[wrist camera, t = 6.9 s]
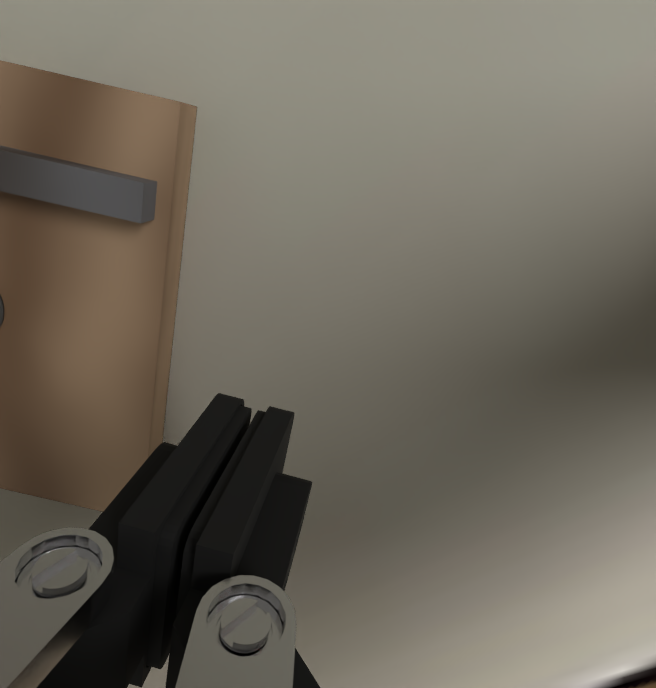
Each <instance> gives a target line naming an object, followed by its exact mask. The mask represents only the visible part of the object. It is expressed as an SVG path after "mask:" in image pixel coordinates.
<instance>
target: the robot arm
mask: <svg viewBox="0 0 656 688" xmlns="http://www.w3.org/2000/svg"><path fill="white" fill-rule="evenodd" d="M250 419H251V408H248V407H244V400H243V399H240V398H236V397H232V396H228V395H224V394H220V393H218V394H217V395H216V396H215V398H214V399H213V400H212V402H211V403H210V404H209V406H208V407H207V408H206V409H205V411H204V412H203V413H202V415H201V416H200V417H199V419H198V420H197V421H196V422H195V424H194V425H193V426H192V428H191V429H190V430H189V432H188V433H187V434H186V436H185V437H184V438H183V439H182V441H181V442H180V443H179V445H178V446H176V445H172V444H169V443H165V442H164V443H161V444H160V445H159V446H158V447H157V448H156V449H155V450H154V451H153V453H152V454H151V455H150V456H149V457H148V459H147V460H146V461H145V462H144V463H143V465H142V466H141V467H140V468H139V469H138V471H137V472H136V473H135V474H134V475H133V477H132V478H131V479H130V480H129V481H128V483H127V484H126V485H125V486H124V487H123V489H122V490H121V491H120V492H119V493H118V495H117V496H116V497H115V498H114V499H113V501H112V502H111V503H110V504H109V505H108V507H107V508H106V509H105V510H104V511H103V513H102V514H101V515H100V516H99V517H98V519H97V520H96V521H95V522H94V523H93V525H92V526H91V527H90V528H89V529H85V528H70V527H66V528H61V529H56V530H50V531H48V532H45V533H43V534H40V535H38V536H35V537H33V538H32V539H30V540H29V541H27V542H26V543H24V544H22V545H21V546H20V547H18V548H17V549H16V550H15V551H13V552H12V553H11V554H10V555H9V556H7V557H6V558H5V559H4V560H2V561H1V562H0V688H127V687H128V685H129V684H132V685H135V686H139V687H142V685H143V683H144V681H145V679H146V677H147V675H148V673H149V671H150V669H151V667H155V668H158V669H161V668H162V667H163V665H164V664H165V662H166V660H167V658H168V655H169V653H170V655H169V663H168V672H167V680H166V688H320V687H319V685H318V683H317V682H316V680H315V679H314V677H313V675H312V674H311V672H310V671H309V669H308V667H307V666H306V664H305V663H304V661H303V660H302V658H301V656H300V655H299V653H298V652H297V650H296V648H295V641H296V615H295V609H294V607H293V605H292V603H291V600H290V598H289V597H288V596H287V594H286V593H285V592H284V590H285V587H286V583H287V579H288V576H289V572H290V568H291V565H292V561H293V557H294V554H295V550H296V546H297V542H298V538H299V535H300V531H301V527H302V523H303V519H304V515H305V511H306V507H307V502H308V498H309V494H310V490H311V486H312V482H311V481H308V480H304V479H300V478H296V477H293V476H289V475H285V474H282V472H283V467H284V463H285V458H286V453H287V448H288V443H289V439H290V434H291V429H292V424H293V419H294V412H290V411H286V410H282V409H278V408H274V407H271V406H270V407H269V408H268V409H267V411H266V412H263V411H257V413H256V415H255V416H254V418H253V420H252V422H251V424H250Z"/></svg>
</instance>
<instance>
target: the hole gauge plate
mask: <svg viewBox="0 0 656 688" xmlns="http://www.w3.org/2000/svg"><path fill="white" fill-rule="evenodd" d="M196 112H197V107H195V106H192V105H189V104H185V103H182V102H178V101H173V100H169V99H165V98H160V97H156V96H152V95H147V94H143V93H139V92H135V91H130V90H126V89H122V88H117V87H113V86H109V85H104V84H100V83H96V82H91V81H87V80H83V79H78V78H74V77H70V76H65V75H61V74H57V73H52V72H48V71H44V70H39V69H35V68H31V67H26V66H22V65H18V64H14V63H9V62H5V61H1V60H0V488H2V489H6V490H11V491H15V492H19V493H24V494H28V495H33V496H37V497H41V498H46V499H50V500H55V501H59V502H63V503H68V504H72V505H77V506H81V507H85V508H90V509H94V510H98V511H104V510H105V509H106V508H107V507H108V505H109V504H110V503H111V502H112V501H113V499H114V498H115V497H116V496H117V495H118V493H119V492H120V491H121V490H122V489H123V487H124V486H125V485H126V484H127V483H128V481H129V480H130V479H131V478H132V477H133V475H134V474H135V473H136V472H137V471H138V469H139V468H140V467H141V466H142V465H143V463H144V462H145V461H146V460H147V459H148V457H149V456H150V455H151V454H152V453H153V451H154V450H155V449H156V448H157V447H158V446H159V445H160V444H161V443H162V440H163V430H164V420H165V411H166V401H167V392H168V382H169V372H170V363H171V353H172V343H173V334H174V324H175V315H176V305H177V295H178V286H179V276H180V266H181V257H182V247H183V238H184V228H185V218H186V209H187V199H188V189H189V180H190V170H191V161H192V151H193V141H194V132H195V122H196Z"/></svg>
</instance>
